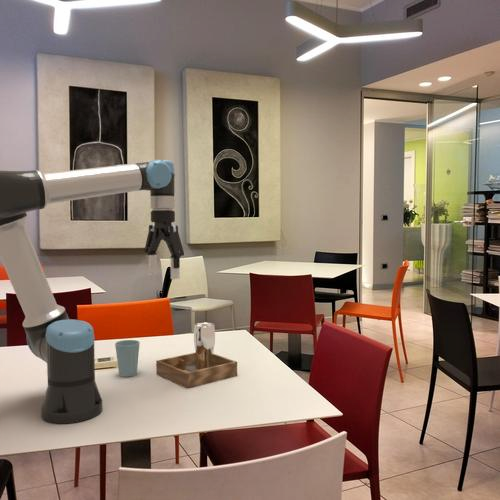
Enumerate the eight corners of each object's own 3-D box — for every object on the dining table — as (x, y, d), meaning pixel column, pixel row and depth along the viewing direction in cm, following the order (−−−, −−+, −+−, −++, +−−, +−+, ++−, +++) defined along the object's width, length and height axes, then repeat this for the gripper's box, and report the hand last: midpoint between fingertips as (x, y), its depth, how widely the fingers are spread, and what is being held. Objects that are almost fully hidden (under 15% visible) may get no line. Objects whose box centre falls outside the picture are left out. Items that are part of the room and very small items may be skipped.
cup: (142, 376, 165) (141, 344, 164) (118, 379, 162) (117, 346, 161) (137, 369, 172) (136, 338, 171) (114, 372, 169) (113, 341, 168)
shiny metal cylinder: (218, 371, 167) (217, 325, 166) (197, 374, 165) (196, 327, 164) (211, 365, 174) (211, 321, 173) (191, 368, 171) (191, 323, 170)
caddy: (187, 388, 153) (187, 373, 153) (156, 374, 167) (156, 360, 166) (237, 375, 165) (237, 361, 165) (204, 363, 179) (204, 350, 179)
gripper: (194, 209, 156) (195, 279, 157) (153, 210, 175) (154, 272, 176) (173, 209, 151) (174, 281, 152) (133, 210, 170) (134, 274, 171)
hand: (163, 276), depth 164 cm, fingers open, 13 cm apart
